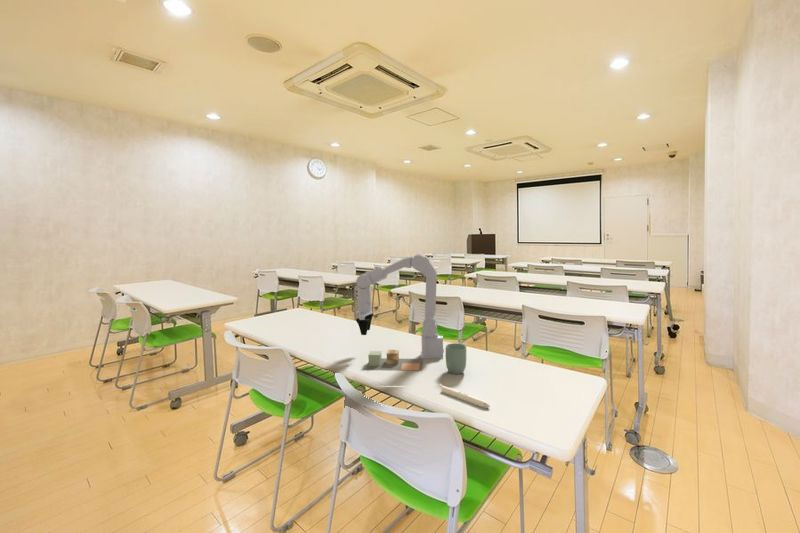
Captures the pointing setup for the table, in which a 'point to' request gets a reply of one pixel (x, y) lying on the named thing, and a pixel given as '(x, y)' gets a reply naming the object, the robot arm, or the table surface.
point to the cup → (456, 358)
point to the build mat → (399, 365)
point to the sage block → (374, 358)
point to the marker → (465, 397)
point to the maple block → (392, 356)
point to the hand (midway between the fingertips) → (365, 332)
